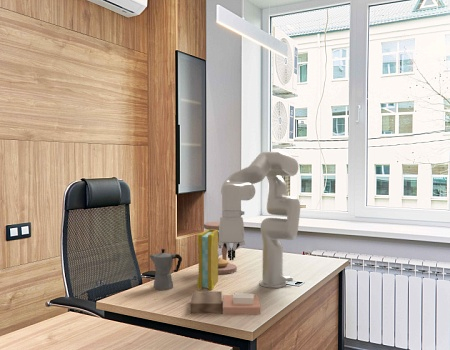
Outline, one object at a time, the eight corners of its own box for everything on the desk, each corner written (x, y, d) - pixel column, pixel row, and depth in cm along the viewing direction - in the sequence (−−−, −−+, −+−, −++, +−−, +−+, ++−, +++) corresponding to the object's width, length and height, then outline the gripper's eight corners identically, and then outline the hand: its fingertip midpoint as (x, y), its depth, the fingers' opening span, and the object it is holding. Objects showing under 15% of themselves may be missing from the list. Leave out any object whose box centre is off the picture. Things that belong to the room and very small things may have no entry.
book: (212, 290, 211) (212, 235, 210) (197, 289, 213) (197, 234, 212) (219, 280, 228) (219, 229, 227) (206, 279, 229) (206, 229, 228)
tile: (253, 299, 189) (253, 293, 189) (253, 304, 183) (253, 298, 183) (234, 299, 189) (234, 293, 189) (233, 303, 183) (233, 297, 183)
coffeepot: (146, 290, 211) (146, 250, 211) (151, 284, 221) (151, 246, 220) (180, 290, 210) (180, 251, 209) (183, 285, 219) (183, 247, 219)
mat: (257, 300, 195) (257, 295, 195) (260, 313, 179) (260, 307, 179) (222, 300, 195) (222, 295, 195) (222, 313, 179) (222, 307, 179)
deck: (221, 300, 195) (221, 291, 195) (221, 313, 179) (221, 303, 179) (193, 300, 195) (193, 291, 195) (190, 313, 179) (190, 303, 179)
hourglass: (225, 276, 236) (225, 227, 235) (197, 271, 246) (197, 224, 245) (242, 269, 251) (242, 222, 250) (215, 265, 260) (215, 220, 259)
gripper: (249, 213, 190) (249, 257, 191) (212, 213, 190) (213, 257, 191) (250, 215, 183) (250, 261, 183) (212, 215, 183) (212, 262, 183)
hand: (231, 259), depth 187 cm, fingers closed
